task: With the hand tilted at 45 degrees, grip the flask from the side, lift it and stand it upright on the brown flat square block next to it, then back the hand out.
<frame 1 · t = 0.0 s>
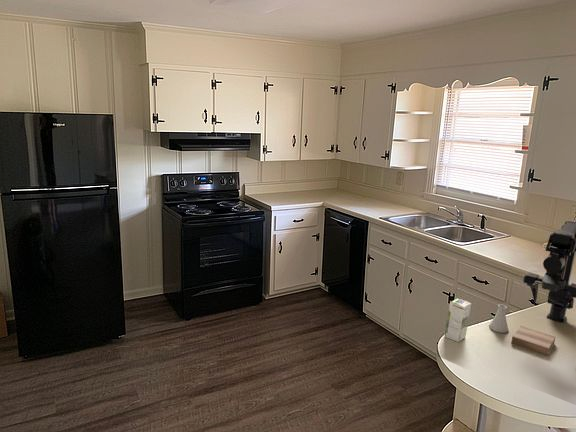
hand: (548, 305, 166), 15 cm above the table, tool pointing down, fingers open, 9 cm apart
flask: (498, 329, 178), on the table
syrup box: (454, 337, 169), on the table
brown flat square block: (532, 343, 167), on the table
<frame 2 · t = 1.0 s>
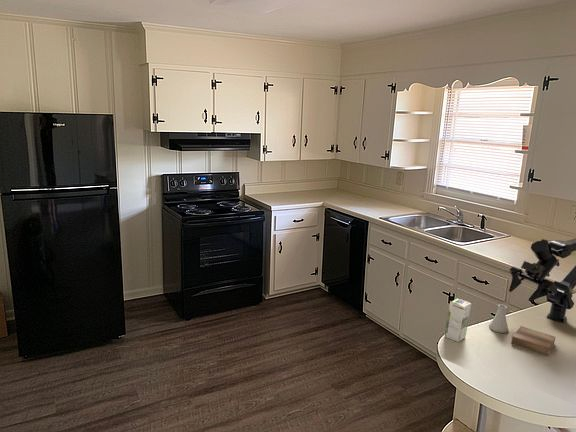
hand: (519, 295, 177), 13 cm above the table, tool tilted 45°, fingers open, 9 cm apart
nothing on the table moved.
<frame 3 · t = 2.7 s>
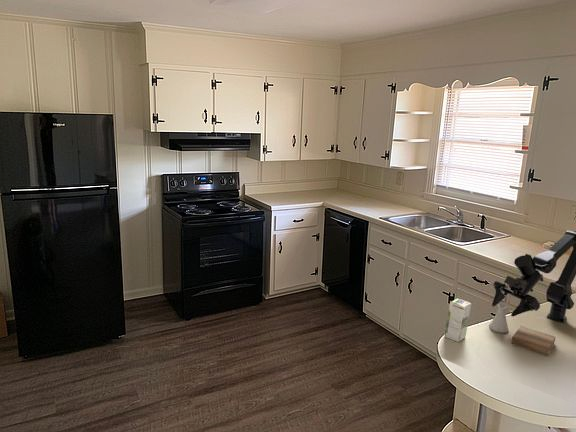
hand: (501, 310, 176), 8 cm above the table, tool tilted 45°, fingers open, 9 cm apart
nothing on the table moved.
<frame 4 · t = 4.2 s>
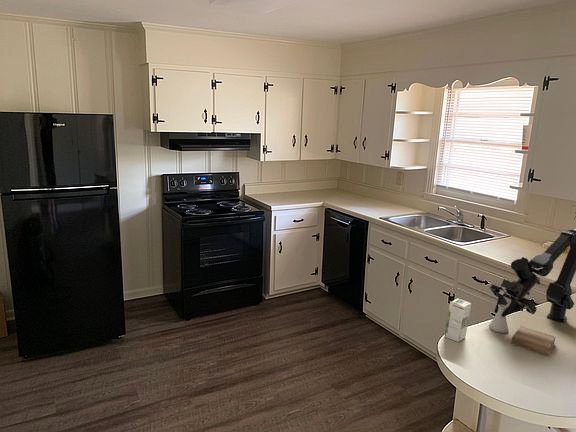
hand: (498, 314, 175), 7 cm above the table, tool tilted 45°, fingers closed on flask, 3 cm apart
flask: (498, 329, 178), on the table, touching gripper
everything else where it was.
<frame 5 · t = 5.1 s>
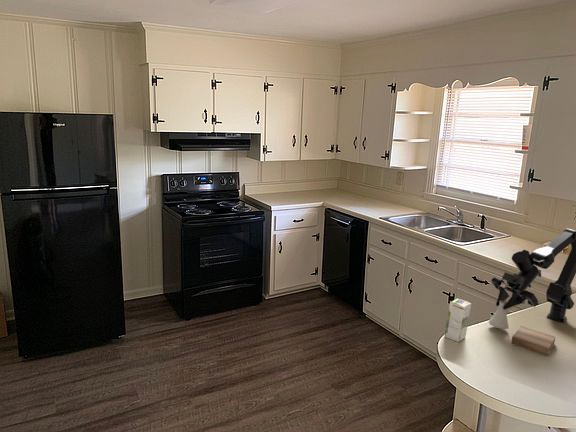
hand: (500, 307, 175), 10 cm above the table, tool tilted 45°, fingers closed on flask, 3 cm apart
flask: (498, 325, 177), point 1 cm above the table, touching gripper
everything else where it was.
when the fingers open (11 cm above the table, at t = 7.1 s): flask stays where it is, resting on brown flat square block.
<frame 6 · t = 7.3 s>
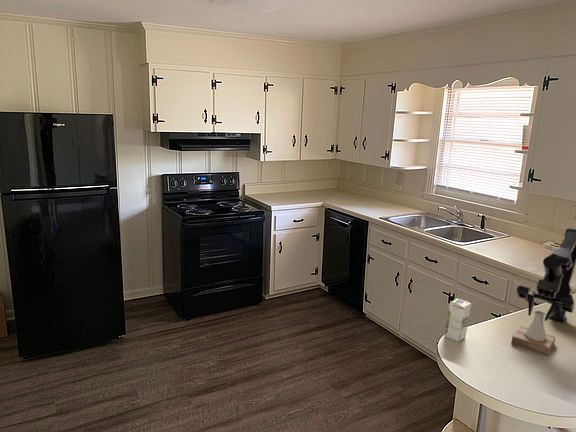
hand: (537, 317, 164), 11 cm above the table, tool tilted 45°, fingers open, 5 cm apart
flask: (534, 337, 166), point 3 cm above the table, touching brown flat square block
everything else where it was.
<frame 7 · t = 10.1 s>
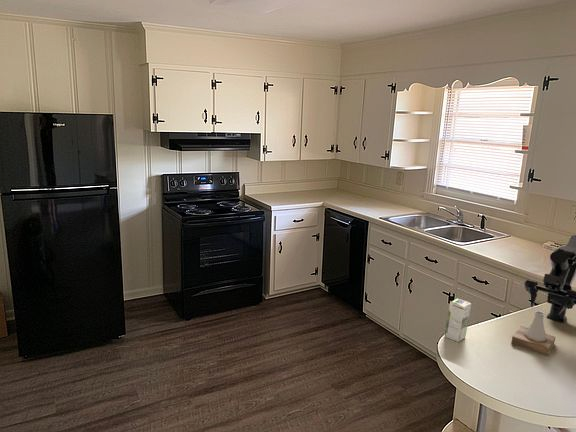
hand: (544, 310, 170), 11 cm above the table, tool tilted 45°, fingers open, 9 cm apart
nothing on the table moved.
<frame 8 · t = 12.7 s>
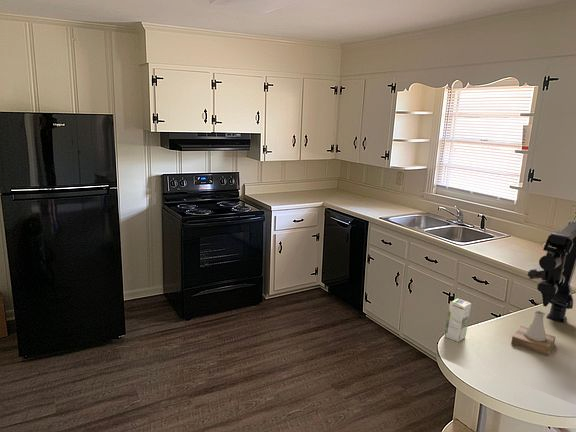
hand: (547, 302, 175), 12 cm above the table, tool pointing down, fingers open, 9 cm apart
nothing on the table moved.
at the end: flask inside the target area on the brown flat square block (0.6 cm from its centre), point 2.8 cm above the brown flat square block's base; flask tilted 0°; flask touching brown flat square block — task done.
